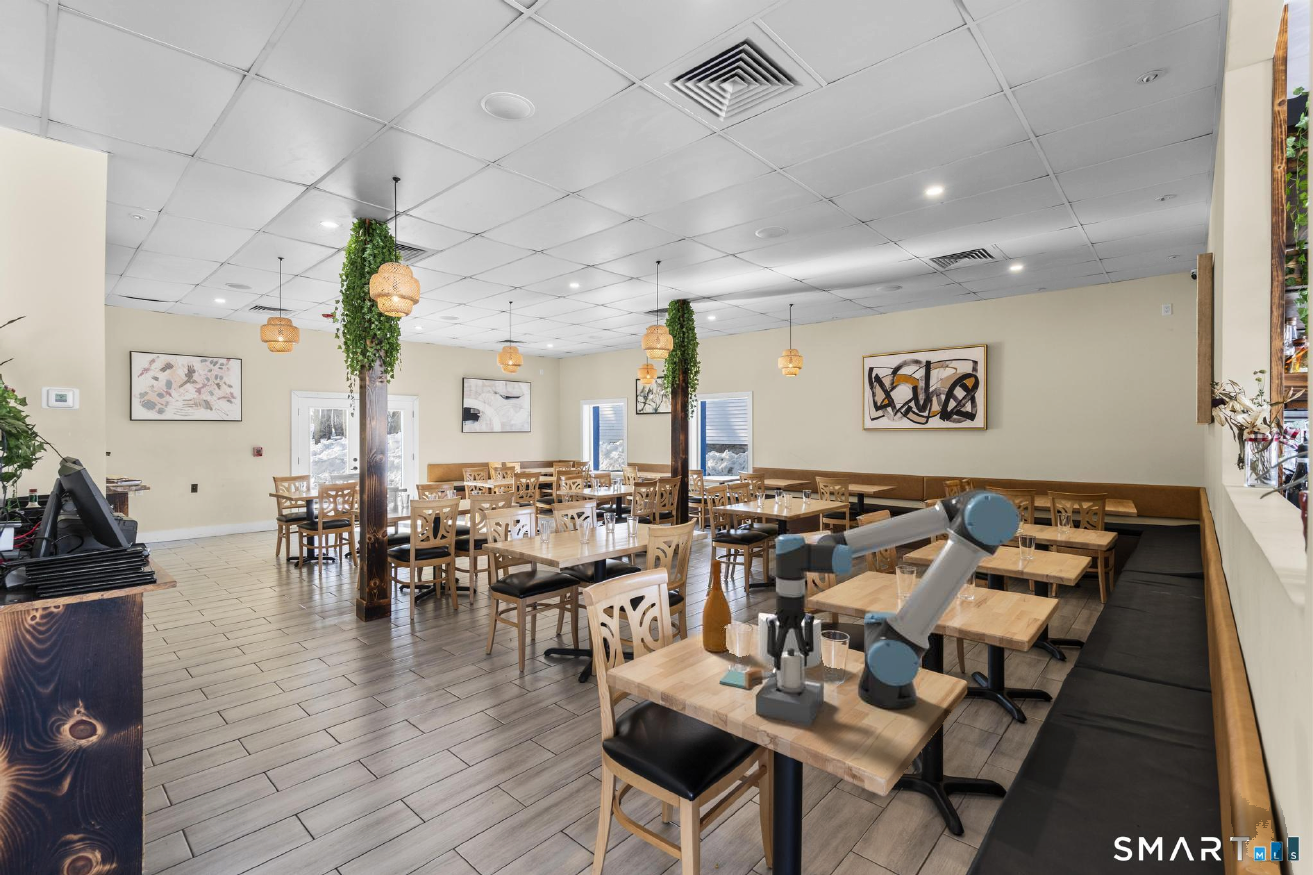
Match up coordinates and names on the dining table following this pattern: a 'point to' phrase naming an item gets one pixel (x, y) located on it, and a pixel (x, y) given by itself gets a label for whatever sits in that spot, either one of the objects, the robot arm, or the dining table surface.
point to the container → (789, 641)
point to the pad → (734, 679)
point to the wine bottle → (715, 614)
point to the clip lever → (757, 677)
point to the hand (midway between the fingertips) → (790, 679)
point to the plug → (791, 673)
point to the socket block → (790, 702)
